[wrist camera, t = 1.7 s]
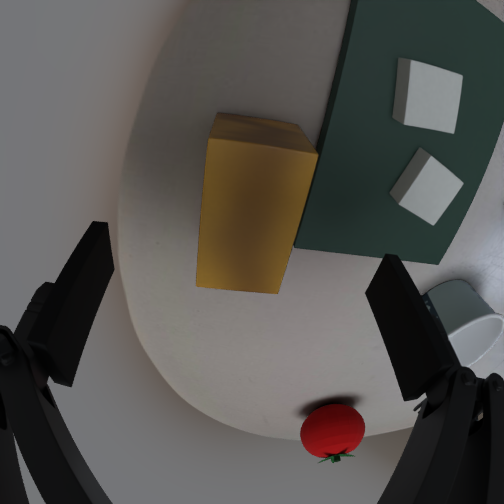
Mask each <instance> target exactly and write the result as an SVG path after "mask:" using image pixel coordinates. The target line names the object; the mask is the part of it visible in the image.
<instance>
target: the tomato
mask: <svg viewBox="0 0 504 504" xmlns="http://www.w3.org/2000/svg"><path fill="white" fill-rule="evenodd" d="M364 432H365V423H364V420H363V418H362V416H361V415H360V414H359V413H358V411H357V410H355V409H354V408H352V407H350V406H347V405H343V404H330V405H326V406H323V407H320V408H318V409H316V410H315V411H313V412H312V413H311V414H310V415H309V416H308V417H307V418H306V419H305V421H304V423H303V424H302V427H301V431H300V437H301V441H302V444H303V446H304V447H305V449H306V450H307V451H308V452H309V453H311V454H312V455H314V456H317V457H321V458H326V459H324V460H322V461H325V460H328V459H331V461H332V463H334V462H338V461H340V456H353V455H347V453H349V452H351V451H352V450H354V449H355V448H356V447H357V446H358V445H359V443H360V442H361V440H362V438H363V436H364ZM322 461H321V462H322Z"/></svg>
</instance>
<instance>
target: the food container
mask: <svg viewBox="0 0 504 504" xmlns="http://www.w3.org/2000/svg"><path fill="white" fill-rule="evenodd" d="M422 298H423V300H424V302H425V304H426V306H427V308H428V310H429V312H430V314H434V315H435V316H436V318H437V319H438V320H439V321H440V322H441V324H442V326H443V328H444V330H445V333H446V334H447V336H448V338H449V340H450V342H451V344H452V346H453V348H454V350H455V353H456V355H457V357H458V359H459V361H460V364H461V366H466V367H469V366H471V365H472V364H474V363H475V362H476V361H478V360H479V359H480V358H481V357H482V356H484V355H485V354H486V353H487V352H488V351H489V350H490V349H491V348H492V347H493V346H494V344H495V343H496V342H497V341H498V339H499V338H500V336H501V334H502V332H503V330H504V317H503V316H502V315H501V314H498V313H495V312H494V310H493V309H492V308H491V307H490V306H489V305H488V304H487V303H486V302H485V301H484V299H483V298H482V297H481V296H480V295H479V294H478V293H477V292H476V291H475V290H474V289H473V288H472V287H471V286H470V285H469V284H468V283H467V282H466V281H463V280H452V281H448V282H445V283H442V284H440V285H438V286H436V287H435V288H433V289H431V290H430V291H428V292H427V293H426V294H424V295H423V296H422Z"/></svg>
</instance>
